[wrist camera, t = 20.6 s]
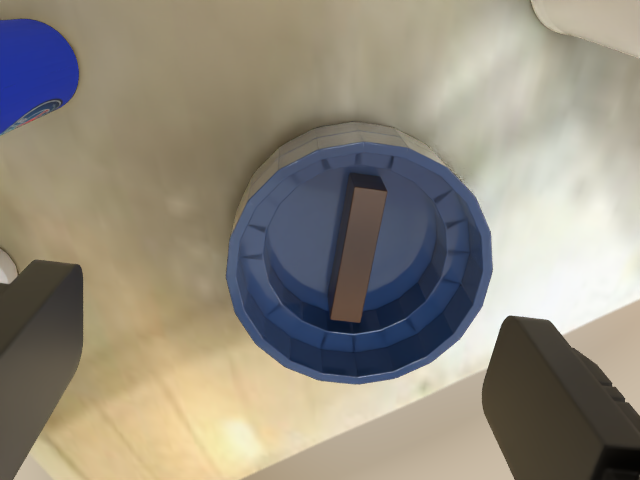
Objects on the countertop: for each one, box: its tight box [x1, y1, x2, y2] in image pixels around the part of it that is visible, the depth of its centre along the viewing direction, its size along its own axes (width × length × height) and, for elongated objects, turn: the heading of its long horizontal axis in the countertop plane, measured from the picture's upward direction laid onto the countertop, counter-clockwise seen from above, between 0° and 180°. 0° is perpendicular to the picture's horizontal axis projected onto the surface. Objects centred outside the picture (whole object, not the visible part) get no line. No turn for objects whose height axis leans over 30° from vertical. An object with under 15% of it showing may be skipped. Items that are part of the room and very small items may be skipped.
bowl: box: [226, 122, 493, 384], centre depth 36 cm, size 15×15×6 cm
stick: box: [328, 173, 387, 323], centre depth 37 cm, size 9×2×3 cm, turn 171°
